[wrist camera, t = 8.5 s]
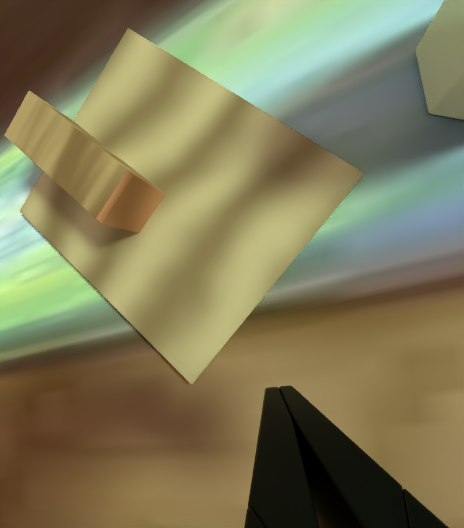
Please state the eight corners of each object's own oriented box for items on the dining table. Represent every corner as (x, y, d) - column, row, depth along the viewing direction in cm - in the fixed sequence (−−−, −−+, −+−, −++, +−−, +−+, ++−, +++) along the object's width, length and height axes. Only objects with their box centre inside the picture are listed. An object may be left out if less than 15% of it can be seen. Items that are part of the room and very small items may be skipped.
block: (133, 174, 15) (28, 90, 17) (101, 223, 15) (4, 135, 18) (165, 194, 19) (76, 123, 21) (139, 233, 19) (55, 159, 22)
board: (361, 176, 16) (364, 173, 15) (194, 381, 18) (191, 384, 18) (132, 35, 21) (128, 28, 20) (26, 212, 23) (19, 211, 23)
